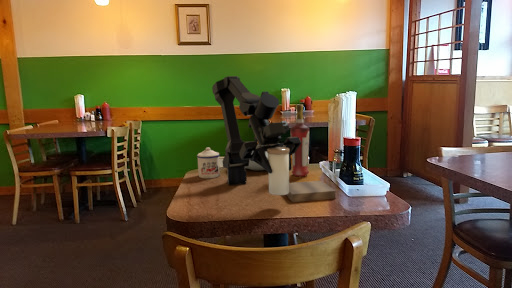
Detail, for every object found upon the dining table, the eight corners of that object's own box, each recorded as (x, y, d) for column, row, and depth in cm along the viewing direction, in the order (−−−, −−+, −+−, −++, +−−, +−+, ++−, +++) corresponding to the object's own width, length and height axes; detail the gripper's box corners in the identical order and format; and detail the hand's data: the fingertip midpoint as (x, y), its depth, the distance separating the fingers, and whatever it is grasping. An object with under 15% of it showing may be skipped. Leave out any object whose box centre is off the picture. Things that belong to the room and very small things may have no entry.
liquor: (293, 172, 151) (292, 104, 147) (311, 173, 149) (311, 104, 144) (288, 177, 144) (287, 105, 140) (307, 178, 142) (306, 105, 137)
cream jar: (270, 196, 105) (269, 151, 103) (266, 190, 111) (265, 147, 109) (292, 194, 106) (291, 150, 104) (286, 188, 113) (286, 146, 110)
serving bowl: (277, 174, 149) (277, 158, 148) (228, 172, 155) (228, 156, 154) (287, 164, 169) (287, 149, 168) (244, 162, 175) (243, 148, 174)
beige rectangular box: (292, 202, 114) (292, 194, 113) (282, 190, 126) (282, 183, 126) (335, 198, 116) (335, 190, 116) (321, 187, 129) (321, 180, 128)
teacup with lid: (199, 179, 145) (198, 150, 143) (196, 174, 153) (195, 146, 151) (229, 176, 148) (228, 148, 146) (225, 171, 157) (223, 144, 155)
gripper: (242, 114, 105) (260, 159, 97) (297, 110, 113) (319, 151, 105) (232, 138, 113) (248, 181, 105) (285, 133, 121) (304, 172, 113)
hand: (280, 171), depth 107 cm, fingers closed on cream jar, 6 cm apart
